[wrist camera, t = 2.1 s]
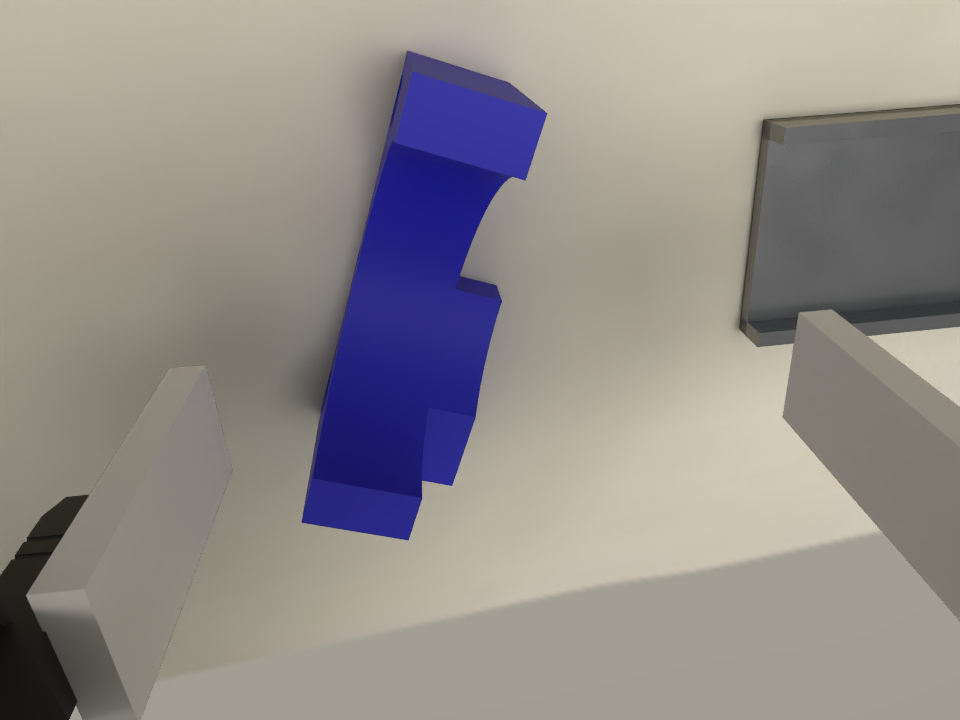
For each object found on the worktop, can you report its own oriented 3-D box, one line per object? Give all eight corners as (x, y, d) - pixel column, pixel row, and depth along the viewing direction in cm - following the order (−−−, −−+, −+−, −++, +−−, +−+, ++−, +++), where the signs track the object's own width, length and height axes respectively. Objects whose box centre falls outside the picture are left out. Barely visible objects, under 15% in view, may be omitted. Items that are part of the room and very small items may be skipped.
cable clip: (446, 435, 26) (459, 548, 21) (320, 410, 25) (301, 522, 20) (556, 97, 22) (610, 132, 16) (407, 50, 21) (412, 71, 15)
